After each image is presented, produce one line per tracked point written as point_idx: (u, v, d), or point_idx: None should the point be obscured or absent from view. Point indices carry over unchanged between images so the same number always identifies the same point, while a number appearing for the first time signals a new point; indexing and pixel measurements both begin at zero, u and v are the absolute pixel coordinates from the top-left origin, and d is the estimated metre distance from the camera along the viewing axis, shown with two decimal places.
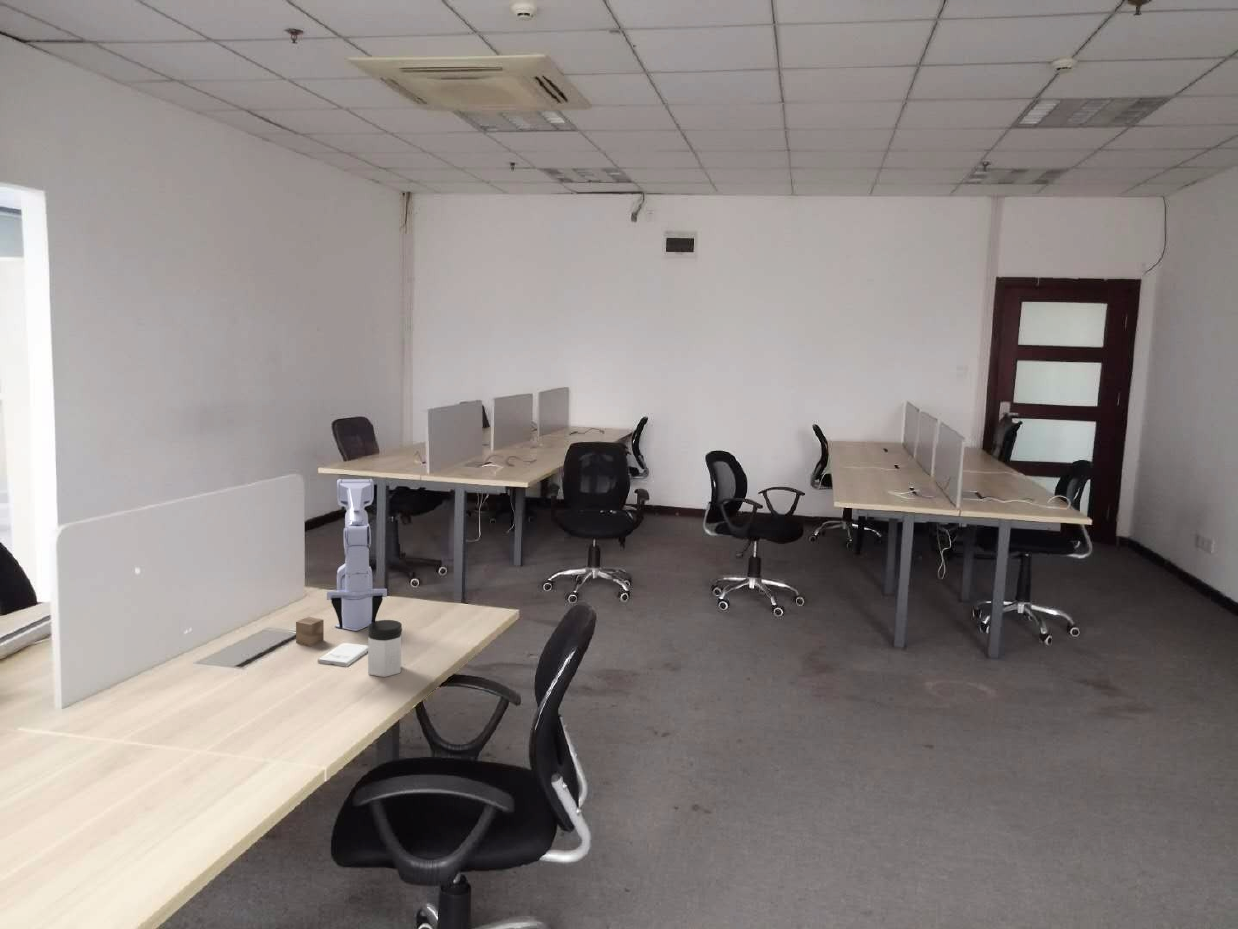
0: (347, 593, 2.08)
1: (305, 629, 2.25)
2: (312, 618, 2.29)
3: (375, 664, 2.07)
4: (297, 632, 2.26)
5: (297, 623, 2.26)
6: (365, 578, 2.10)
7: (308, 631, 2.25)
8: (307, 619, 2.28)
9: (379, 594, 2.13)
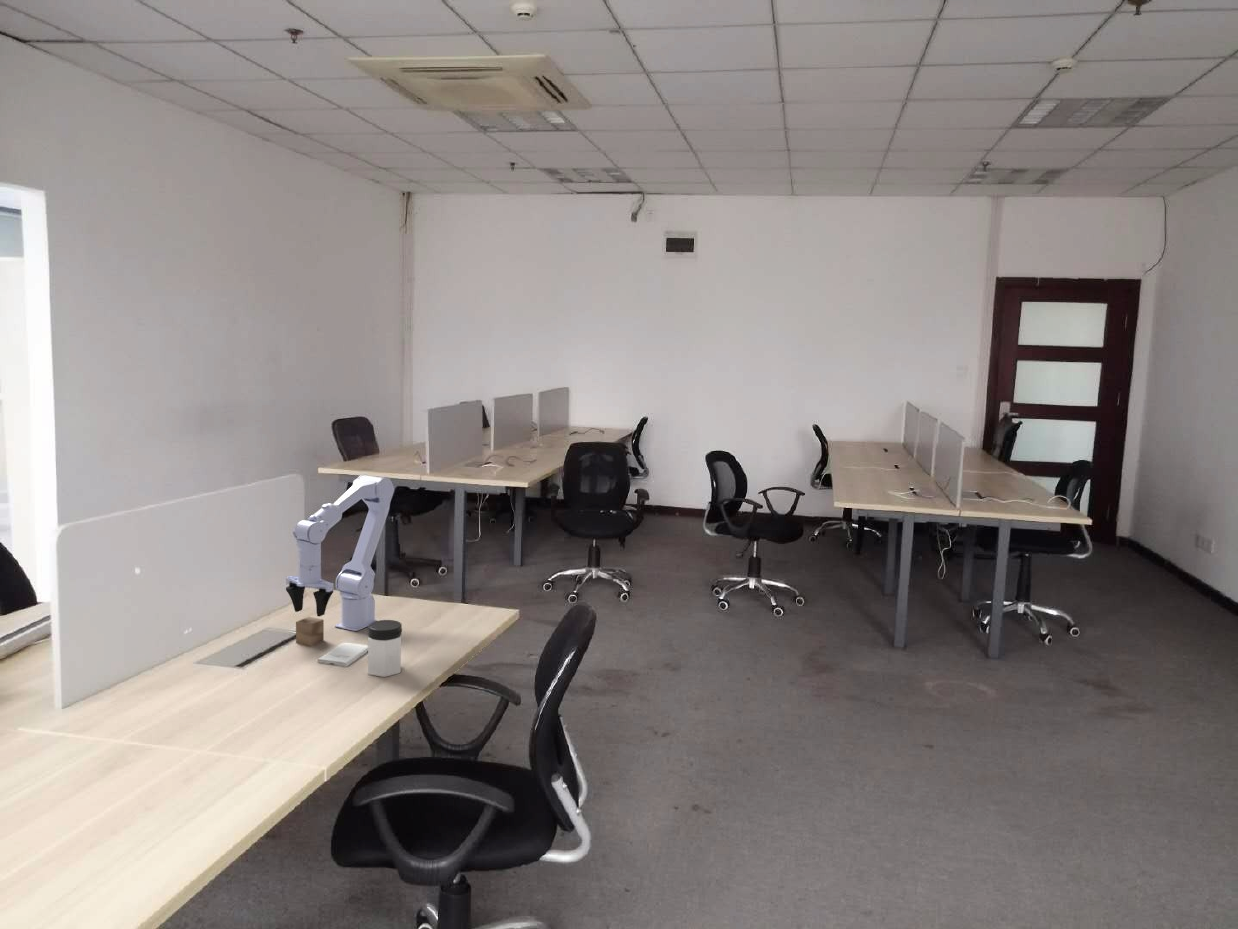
0: (296, 582, 2.24)
1: (305, 629, 2.25)
2: (312, 618, 2.29)
3: (375, 664, 2.07)
4: (297, 632, 2.26)
5: (297, 623, 2.26)
6: (310, 571, 2.23)
7: (308, 631, 2.25)
8: (307, 619, 2.28)
9: (325, 588, 2.24)
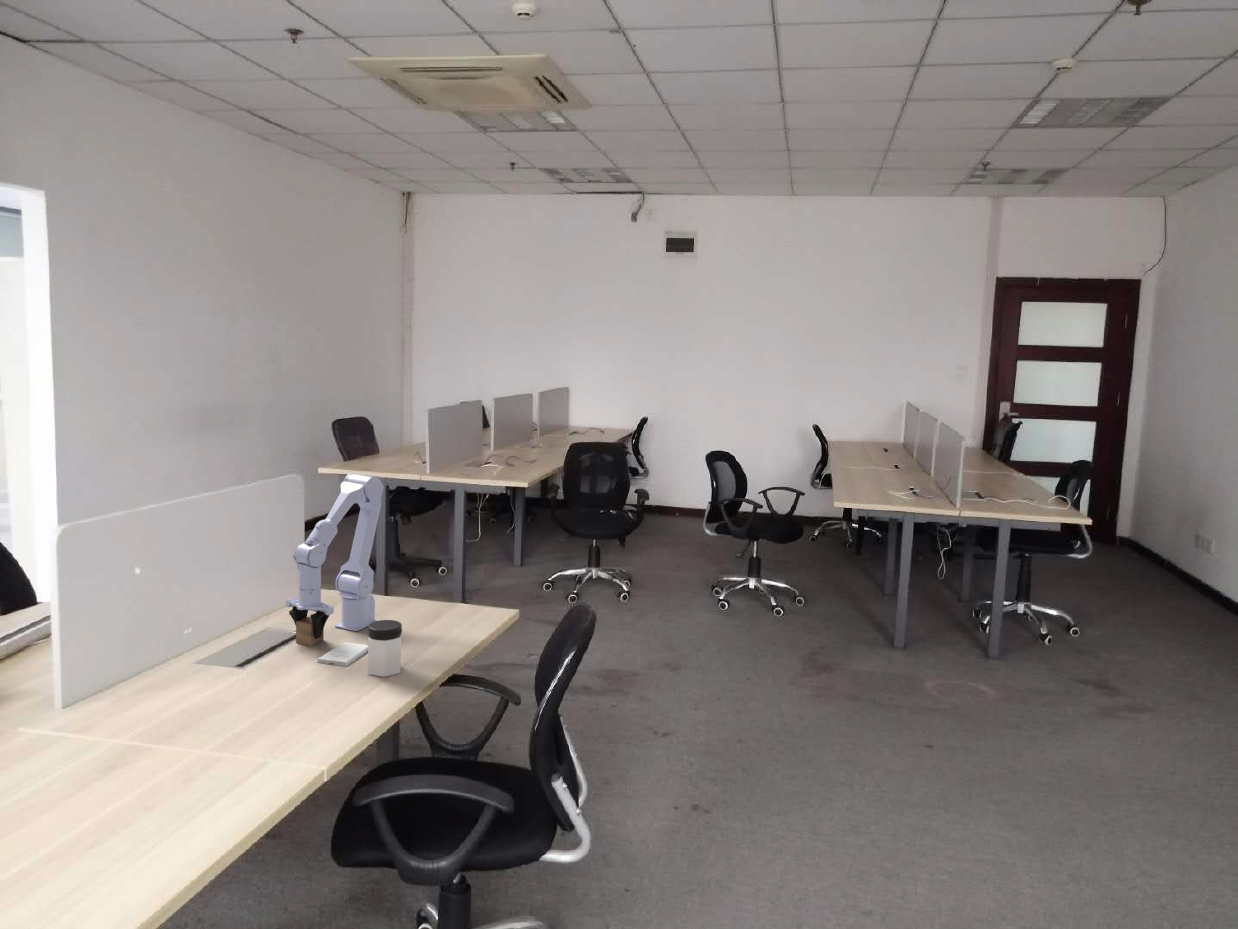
0: (296, 605, 2.25)
1: (305, 629, 2.25)
2: None
3: (375, 664, 2.07)
4: (297, 632, 2.26)
5: (297, 623, 2.26)
6: (310, 595, 2.24)
7: (308, 630, 2.25)
8: (307, 619, 2.28)
9: (325, 611, 2.25)
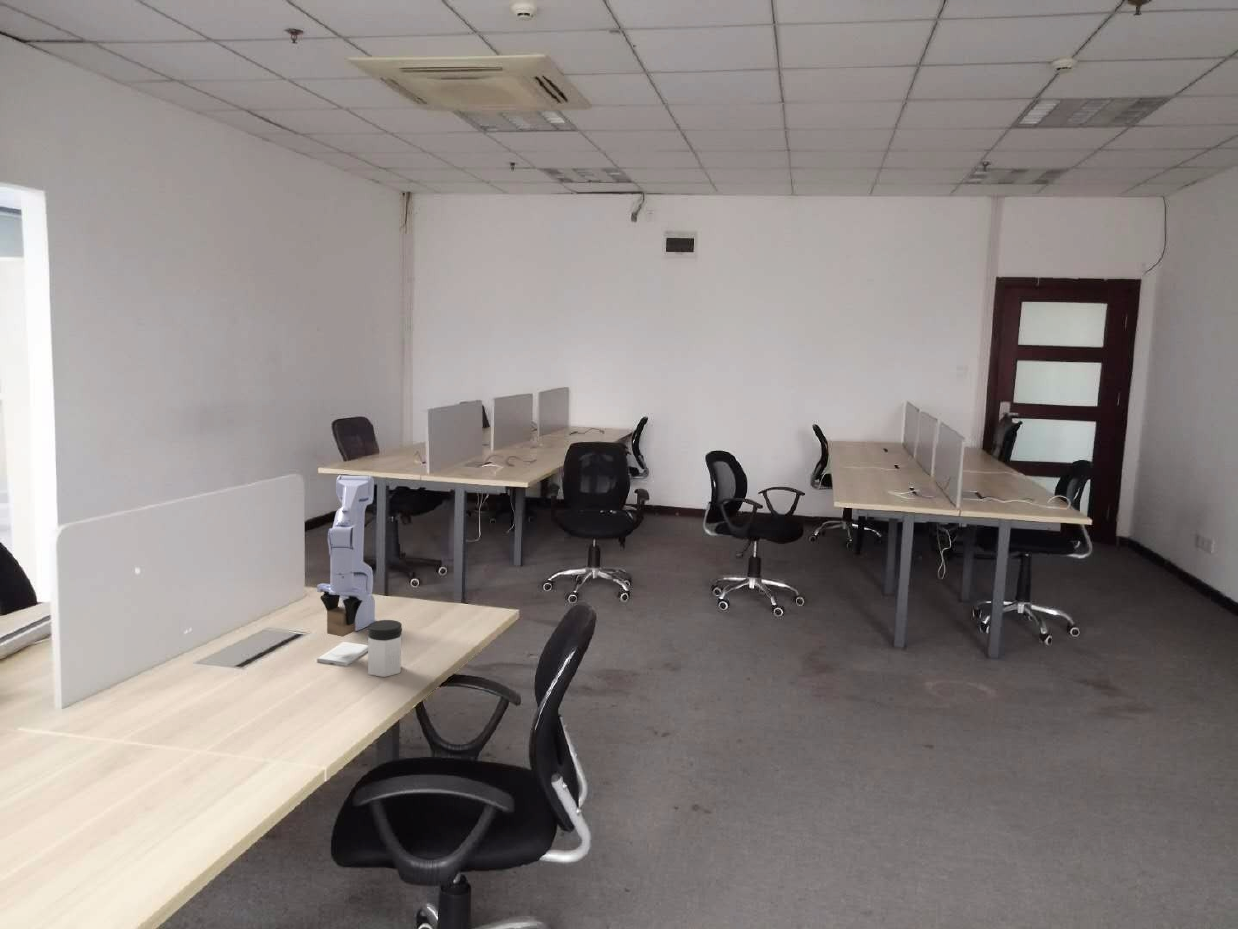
0: (328, 590, 2.16)
1: (336, 619, 2.15)
2: (343, 607, 2.19)
3: (375, 664, 2.07)
4: (328, 622, 2.17)
5: (329, 613, 2.16)
6: (342, 579, 2.14)
7: (340, 620, 2.15)
8: (338, 608, 2.19)
9: (358, 596, 2.15)
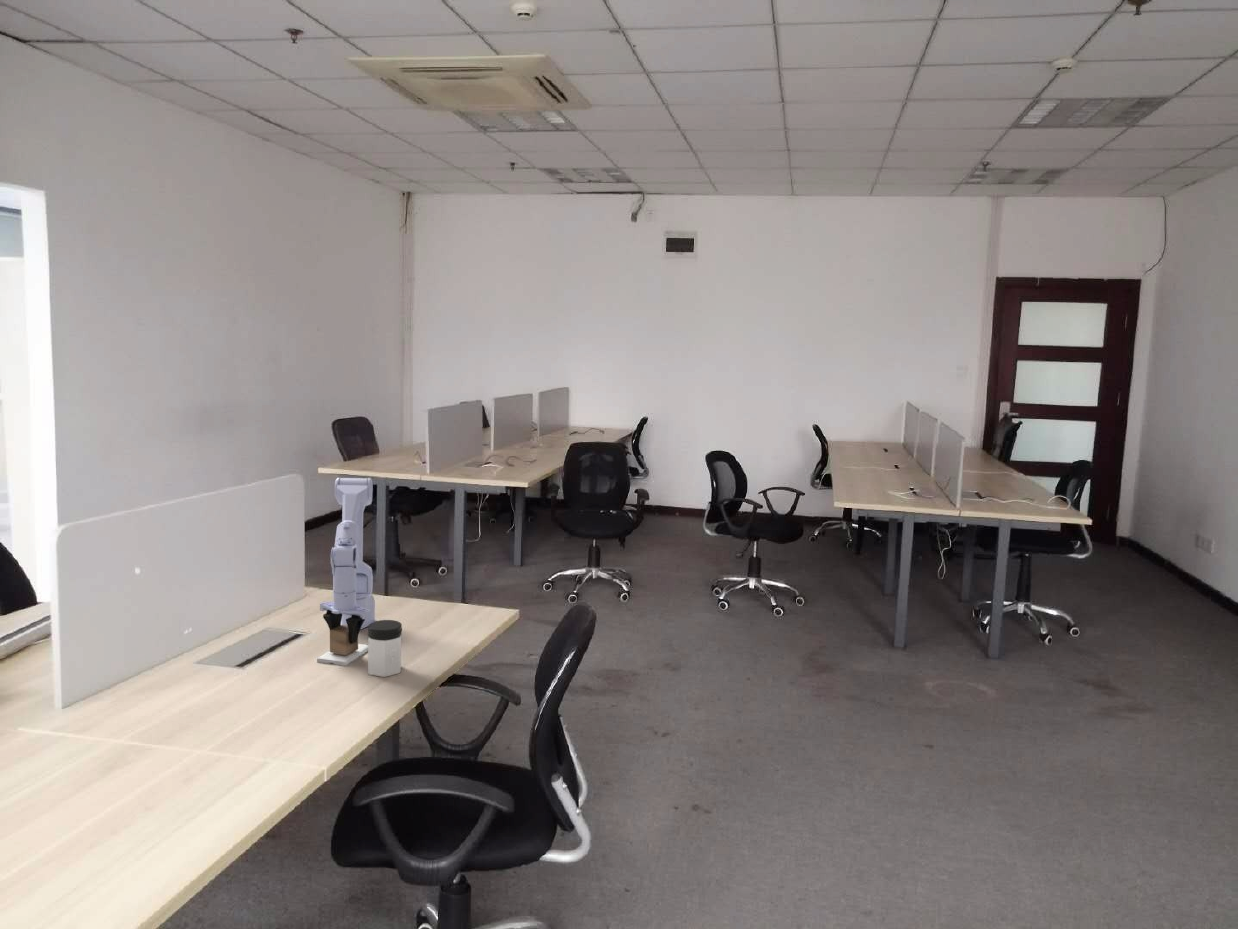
0: (331, 609, 2.16)
1: (339, 638, 2.16)
2: (346, 626, 2.20)
3: (375, 664, 2.07)
4: (331, 641, 2.17)
5: (331, 632, 2.16)
6: (345, 598, 2.14)
7: (343, 639, 2.15)
8: (341, 627, 2.19)
9: (361, 615, 2.15)
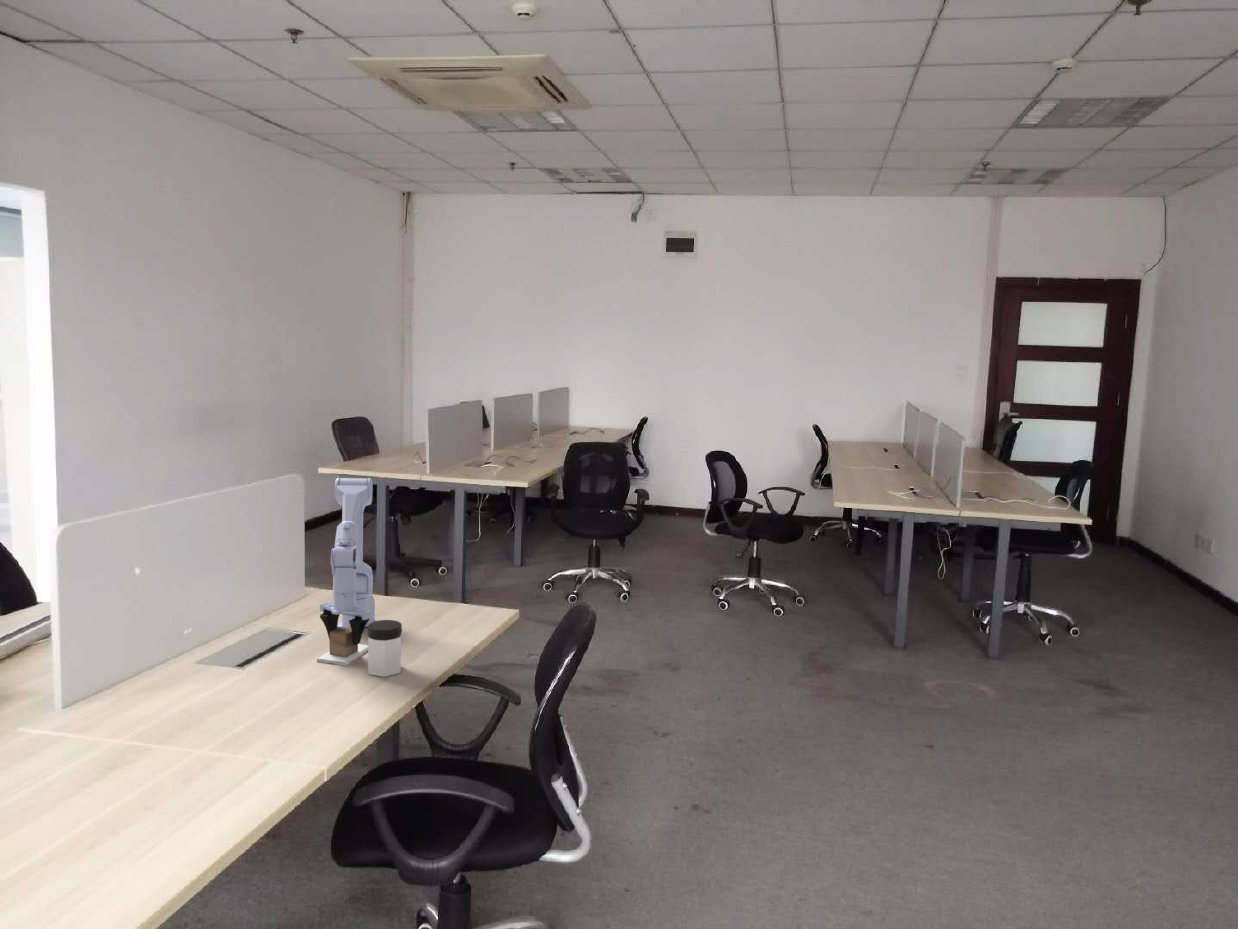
0: (331, 609, 2.16)
1: (339, 640, 2.16)
2: (346, 628, 2.20)
3: (375, 664, 2.07)
4: (330, 643, 2.17)
5: (331, 634, 2.16)
6: (345, 599, 2.14)
7: (343, 641, 2.15)
8: (341, 629, 2.19)
9: (361, 615, 2.15)
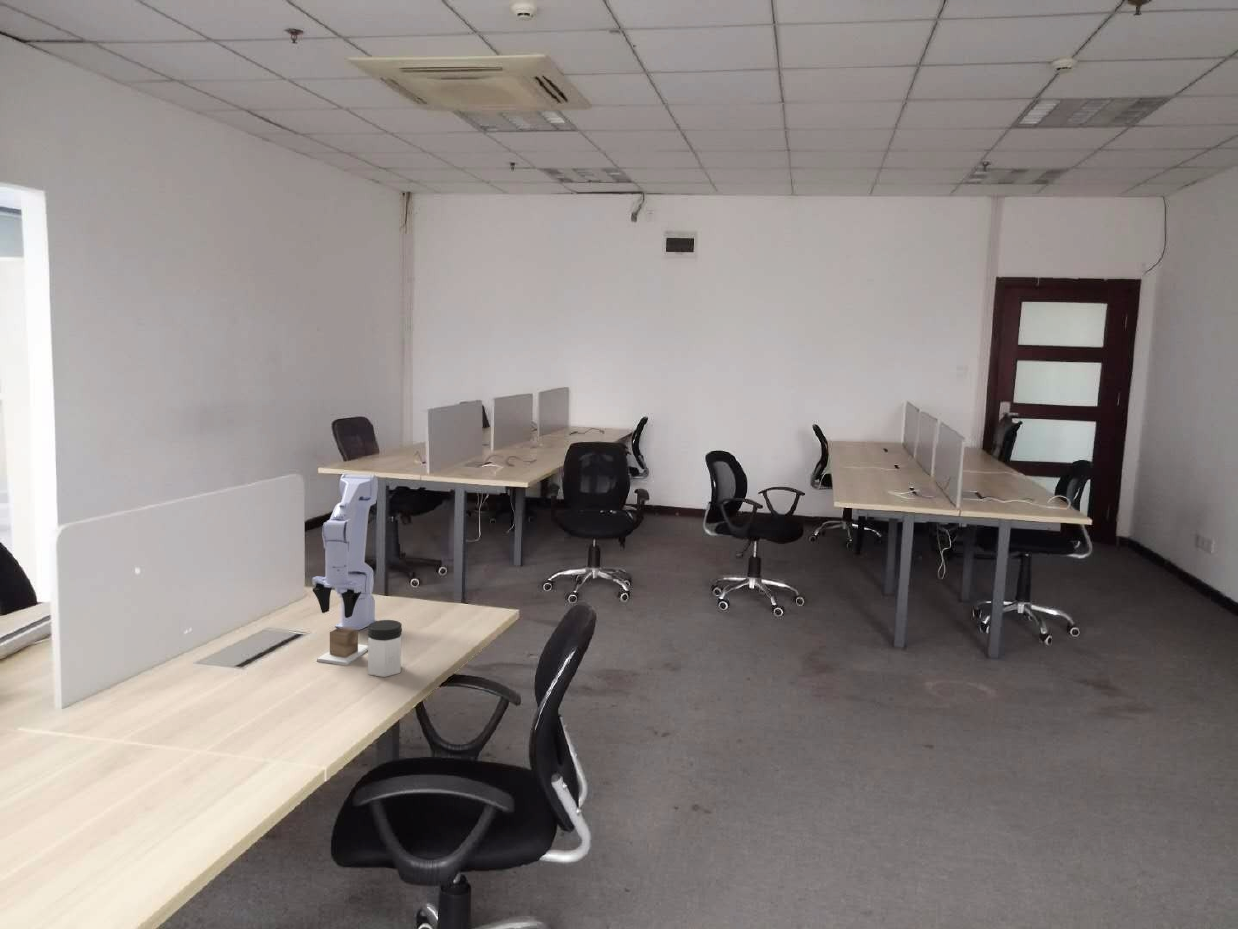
0: (323, 583, 2.19)
1: (339, 640, 2.16)
2: (346, 628, 2.20)
3: (375, 664, 2.07)
4: (330, 643, 2.17)
5: (331, 634, 2.16)
6: (337, 572, 2.18)
7: (343, 641, 2.15)
8: (341, 629, 2.19)
9: (353, 588, 2.19)
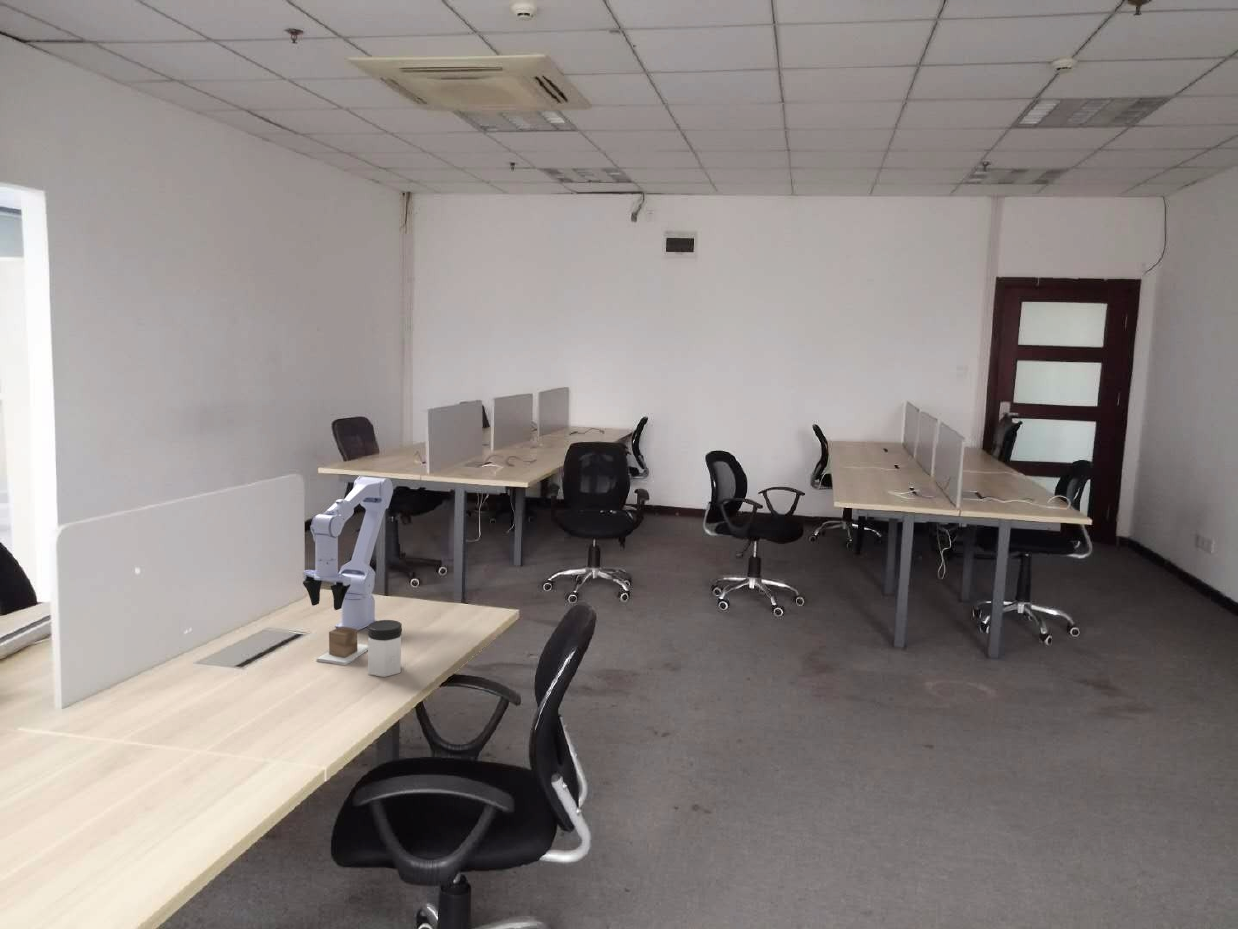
0: (313, 576, 2.25)
1: (338, 640, 2.16)
2: (345, 628, 2.20)
3: (375, 664, 2.07)
4: (330, 643, 2.17)
5: (331, 634, 2.16)
6: (327, 565, 2.23)
7: (342, 641, 2.15)
8: (340, 629, 2.19)
9: (342, 581, 2.24)
